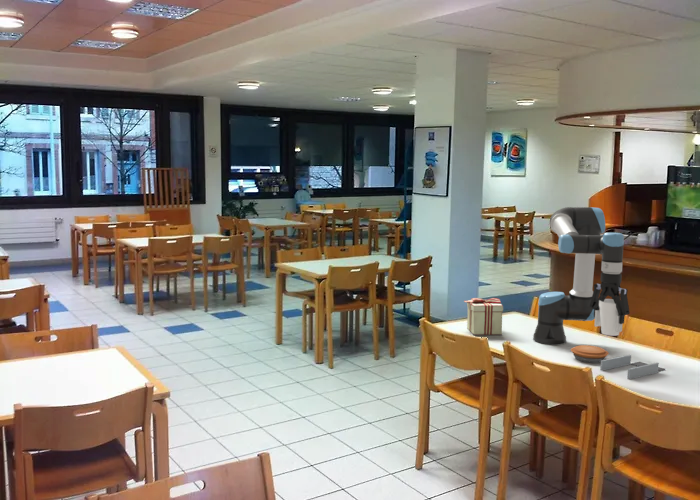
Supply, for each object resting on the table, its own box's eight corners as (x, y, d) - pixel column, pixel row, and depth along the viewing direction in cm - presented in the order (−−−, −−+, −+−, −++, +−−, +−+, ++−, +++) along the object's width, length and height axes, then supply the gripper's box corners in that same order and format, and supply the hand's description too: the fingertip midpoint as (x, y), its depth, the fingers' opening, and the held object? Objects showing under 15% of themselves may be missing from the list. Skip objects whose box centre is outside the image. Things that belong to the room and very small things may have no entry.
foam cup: (592, 331, 261) (594, 299, 259) (613, 330, 263) (615, 298, 261) (606, 337, 252) (608, 304, 250) (627, 336, 253) (630, 303, 252)
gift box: (491, 326, 341) (492, 294, 339) (504, 335, 323) (506, 301, 320) (460, 327, 338) (461, 294, 336) (471, 336, 320) (472, 301, 318)
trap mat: (630, 364, 275) (630, 363, 275) (639, 362, 278) (639, 361, 278) (656, 372, 265) (656, 371, 265) (665, 369, 268) (665, 369, 268)
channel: (600, 370, 267) (600, 360, 267) (628, 363, 276) (629, 354, 276) (629, 379, 255) (629, 369, 255) (657, 372, 264) (658, 363, 264)
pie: (562, 356, 287) (563, 345, 286) (589, 352, 293) (589, 341, 292) (588, 366, 273) (589, 354, 272) (616, 362, 279) (616, 350, 279)
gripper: (581, 269, 261) (578, 323, 264) (629, 277, 242) (625, 336, 245) (594, 267, 265) (591, 321, 268) (642, 275, 246) (638, 333, 249)
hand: (607, 328), depth 256 cm, fingers closed on foam cup, 9 cm apart
